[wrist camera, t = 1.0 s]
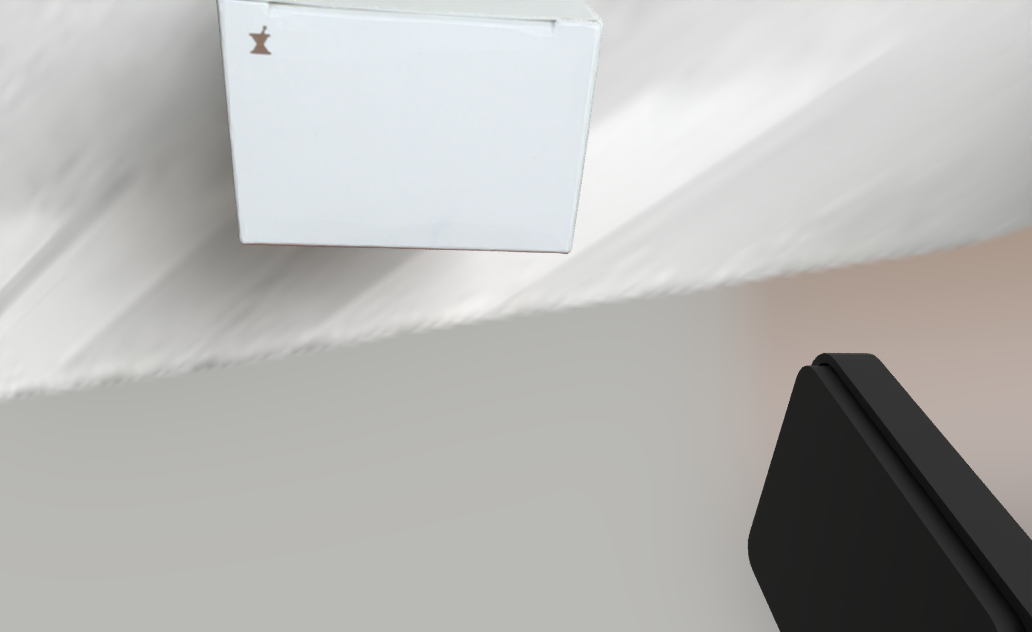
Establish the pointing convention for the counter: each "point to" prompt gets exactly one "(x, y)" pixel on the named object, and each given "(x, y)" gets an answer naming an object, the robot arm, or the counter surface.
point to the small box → (409, 121)
